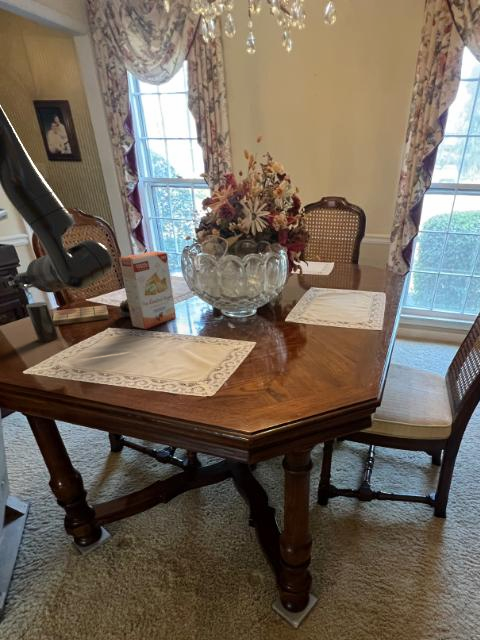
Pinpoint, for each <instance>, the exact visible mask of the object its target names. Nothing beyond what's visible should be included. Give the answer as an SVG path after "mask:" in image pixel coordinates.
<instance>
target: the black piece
mask: <svg viewBox="0 0 480 640" xmlns="http://www.w3.org/2000/svg"><path fill="white" fill-rule="evenodd" d="M25 307H26V310H27V314H28V316H29V318H30V321H31V324H32V327H33V330H34V333H35V336H36V339H37V341H38V342H41V343H49V342H52V341H55V340H58V339H59V335H58V332H57V329H56V325H54V323H53V317H52V314H51V311H50V307H49V305H48V302H45V301H39V302H38V301H37V302H32V303H31V302H30V303H29V304H26V305H25Z"/></svg>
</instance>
